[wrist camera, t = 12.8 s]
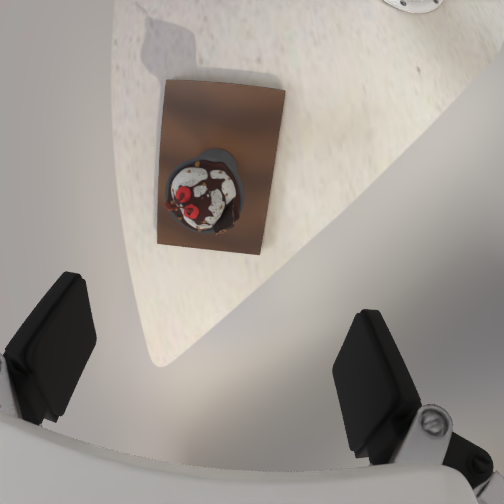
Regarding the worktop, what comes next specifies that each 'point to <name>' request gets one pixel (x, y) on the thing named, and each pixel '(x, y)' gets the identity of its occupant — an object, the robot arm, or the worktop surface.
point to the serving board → (226, 138)
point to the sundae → (206, 192)
